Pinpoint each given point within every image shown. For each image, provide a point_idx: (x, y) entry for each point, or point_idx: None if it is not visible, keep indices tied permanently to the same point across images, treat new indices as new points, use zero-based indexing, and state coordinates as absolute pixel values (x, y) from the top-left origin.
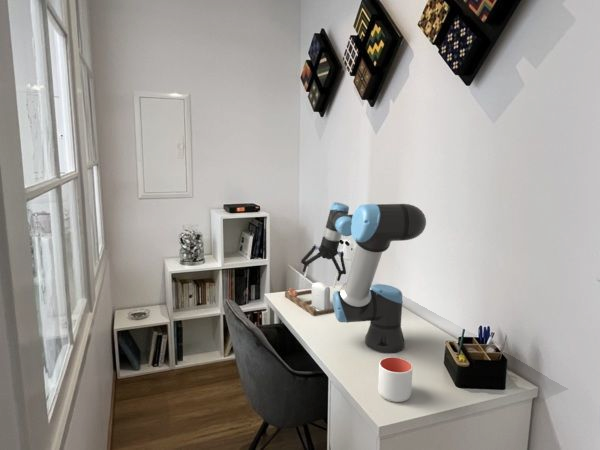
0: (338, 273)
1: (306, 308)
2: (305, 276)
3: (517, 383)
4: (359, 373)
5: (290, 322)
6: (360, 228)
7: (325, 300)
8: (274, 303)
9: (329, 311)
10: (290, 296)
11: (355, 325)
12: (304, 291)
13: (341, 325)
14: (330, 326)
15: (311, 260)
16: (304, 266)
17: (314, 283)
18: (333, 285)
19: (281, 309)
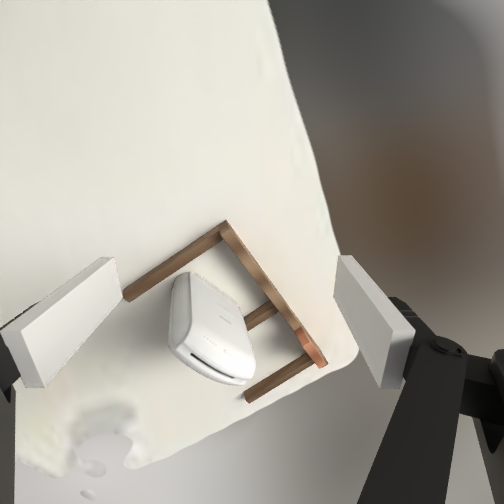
0: (15, 360)
1: (257, 264)
2: (352, 269)
3: None
4: None
5: (310, 146)
6: None
7: (187, 296)
8: None
9: (168, 261)
10: (311, 339)
11: (22, 143)
12: (267, 387)
13: (93, 136)
14: (143, 118)
15: (432, 422)
16: (429, 335)
17: (247, 373)
18: (112, 277)
19: (335, 259)
